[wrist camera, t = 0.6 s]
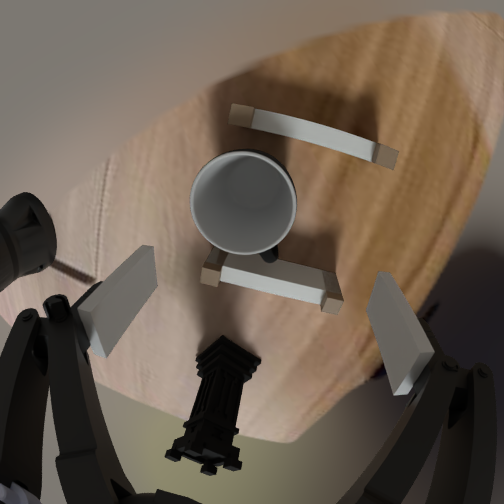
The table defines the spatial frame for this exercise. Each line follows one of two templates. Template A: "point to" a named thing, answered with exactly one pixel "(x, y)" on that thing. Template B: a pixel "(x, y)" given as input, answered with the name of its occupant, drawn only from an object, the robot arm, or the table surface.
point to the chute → (279, 272)
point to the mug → (244, 203)
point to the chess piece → (216, 408)
